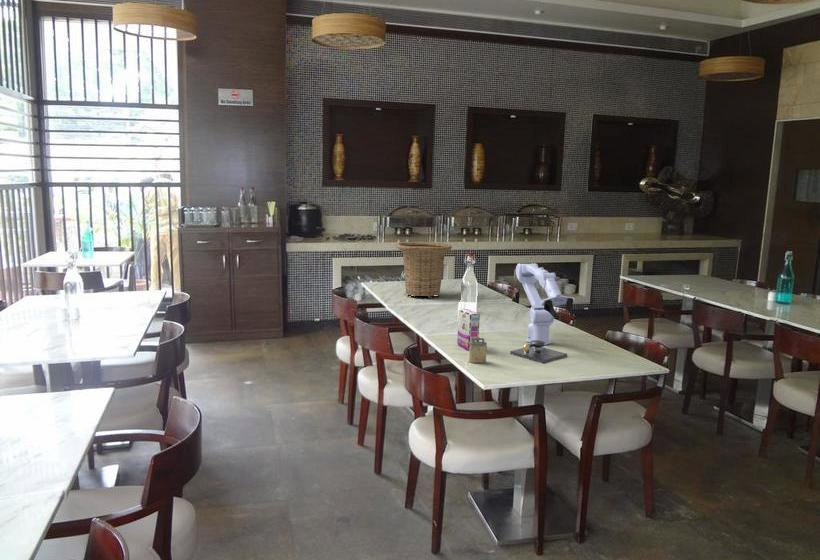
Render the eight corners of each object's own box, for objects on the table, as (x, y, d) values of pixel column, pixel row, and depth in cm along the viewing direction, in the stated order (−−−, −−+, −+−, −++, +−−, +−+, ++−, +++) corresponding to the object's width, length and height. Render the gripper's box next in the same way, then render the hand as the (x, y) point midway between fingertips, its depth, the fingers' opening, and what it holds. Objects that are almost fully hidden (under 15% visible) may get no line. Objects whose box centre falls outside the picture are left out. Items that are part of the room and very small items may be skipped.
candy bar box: (478, 350, 270) (480, 313, 267) (468, 351, 268) (470, 314, 265) (466, 344, 280) (468, 308, 277) (456, 344, 278) (458, 309, 275)
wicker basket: (425, 303, 372) (427, 248, 367) (384, 295, 395) (385, 243, 390) (460, 296, 398) (463, 245, 393) (419, 289, 421) (421, 240, 416)
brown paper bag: (484, 360, 254) (485, 336, 253) (487, 363, 250) (488, 339, 249) (467, 360, 253) (468, 337, 252) (470, 363, 249) (471, 339, 248)
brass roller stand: (535, 347, 270) (536, 339, 269) (547, 350, 266) (547, 342, 265) (518, 351, 262) (519, 343, 262) (530, 354, 258) (530, 346, 257)
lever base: (510, 353, 265) (510, 345, 265) (534, 347, 276) (535, 340, 276) (542, 363, 252) (542, 354, 252) (566, 356, 264) (567, 348, 263)
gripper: (539, 287, 267) (548, 309, 257) (571, 285, 269) (582, 307, 259) (536, 299, 272) (545, 321, 262) (568, 297, 274) (578, 318, 264)
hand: (563, 315), depth 261 cm, fingers open, 7 cm apart
